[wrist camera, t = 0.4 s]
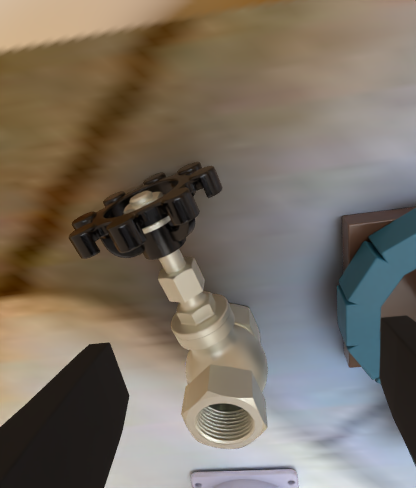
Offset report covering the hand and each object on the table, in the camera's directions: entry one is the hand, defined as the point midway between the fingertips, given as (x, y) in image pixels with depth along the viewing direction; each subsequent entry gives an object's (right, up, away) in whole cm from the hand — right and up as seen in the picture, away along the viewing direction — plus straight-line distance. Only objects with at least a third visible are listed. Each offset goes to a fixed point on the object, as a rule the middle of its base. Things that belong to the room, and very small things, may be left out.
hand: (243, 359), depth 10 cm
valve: (-1, +2, +11) cm, 11 cm away
